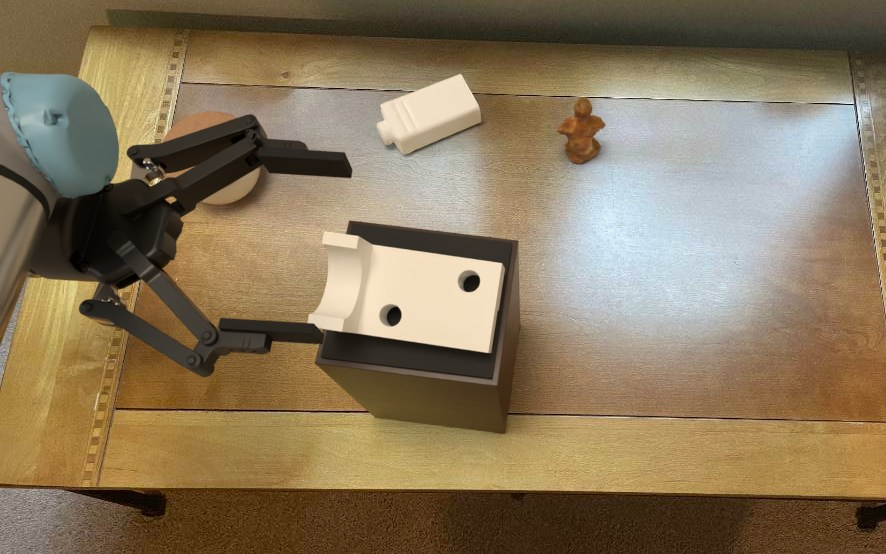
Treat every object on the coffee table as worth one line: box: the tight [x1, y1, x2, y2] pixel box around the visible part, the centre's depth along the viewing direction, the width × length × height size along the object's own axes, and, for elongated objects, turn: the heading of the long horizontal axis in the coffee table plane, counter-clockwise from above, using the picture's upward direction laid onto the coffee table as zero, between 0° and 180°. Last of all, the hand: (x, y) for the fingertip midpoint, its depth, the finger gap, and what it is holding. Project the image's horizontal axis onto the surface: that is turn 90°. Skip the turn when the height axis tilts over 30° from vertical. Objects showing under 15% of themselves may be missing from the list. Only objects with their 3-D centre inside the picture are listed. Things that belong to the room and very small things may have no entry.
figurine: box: [556, 96, 606, 165], centre depth 89 cm, size 5×6×12 cm
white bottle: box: [376, 73, 482, 155], centre depth 93 cm, size 6×13×4 cm, turn 117°
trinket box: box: [161, 110, 261, 206], centre depth 87 cm, size 11×11×9 cm
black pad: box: [321, 224, 512, 379], centre depth 60 cm, size 12×14×1 cm
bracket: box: [307, 230, 505, 353], centre depth 56 cm, size 13×7×8 cm, turn 82°
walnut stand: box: [314, 219, 521, 435], centre depth 72 cm, size 13×15×25 cm
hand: (334, 246), depth 53 cm, fingers open, 13 cm apart
